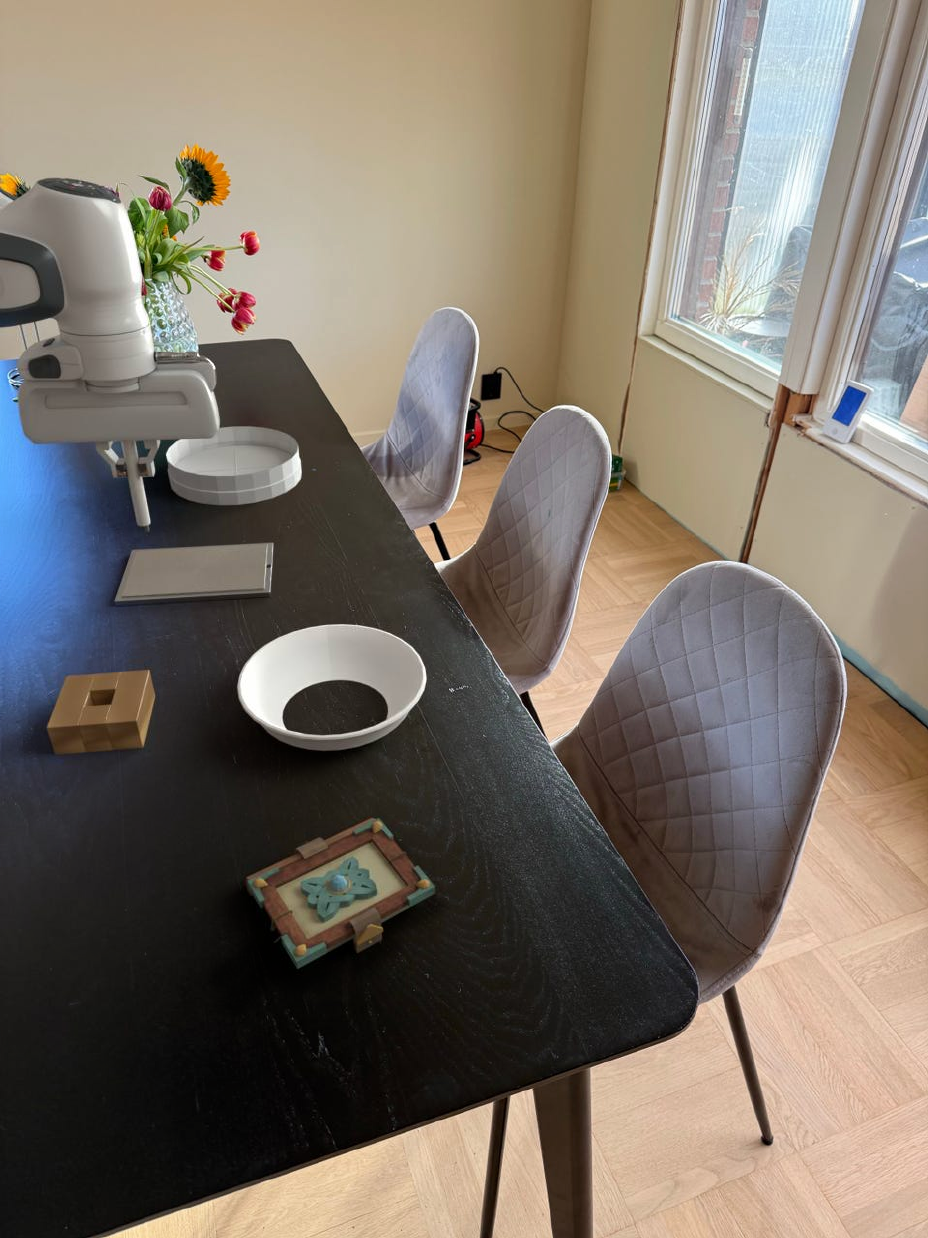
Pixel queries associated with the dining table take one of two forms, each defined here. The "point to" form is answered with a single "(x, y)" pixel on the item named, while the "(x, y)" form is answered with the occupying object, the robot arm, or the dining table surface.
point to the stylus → (136, 485)
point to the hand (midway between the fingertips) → (134, 475)
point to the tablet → (197, 574)
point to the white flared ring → (331, 678)
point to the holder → (102, 712)
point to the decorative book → (338, 891)
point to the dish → (234, 466)
